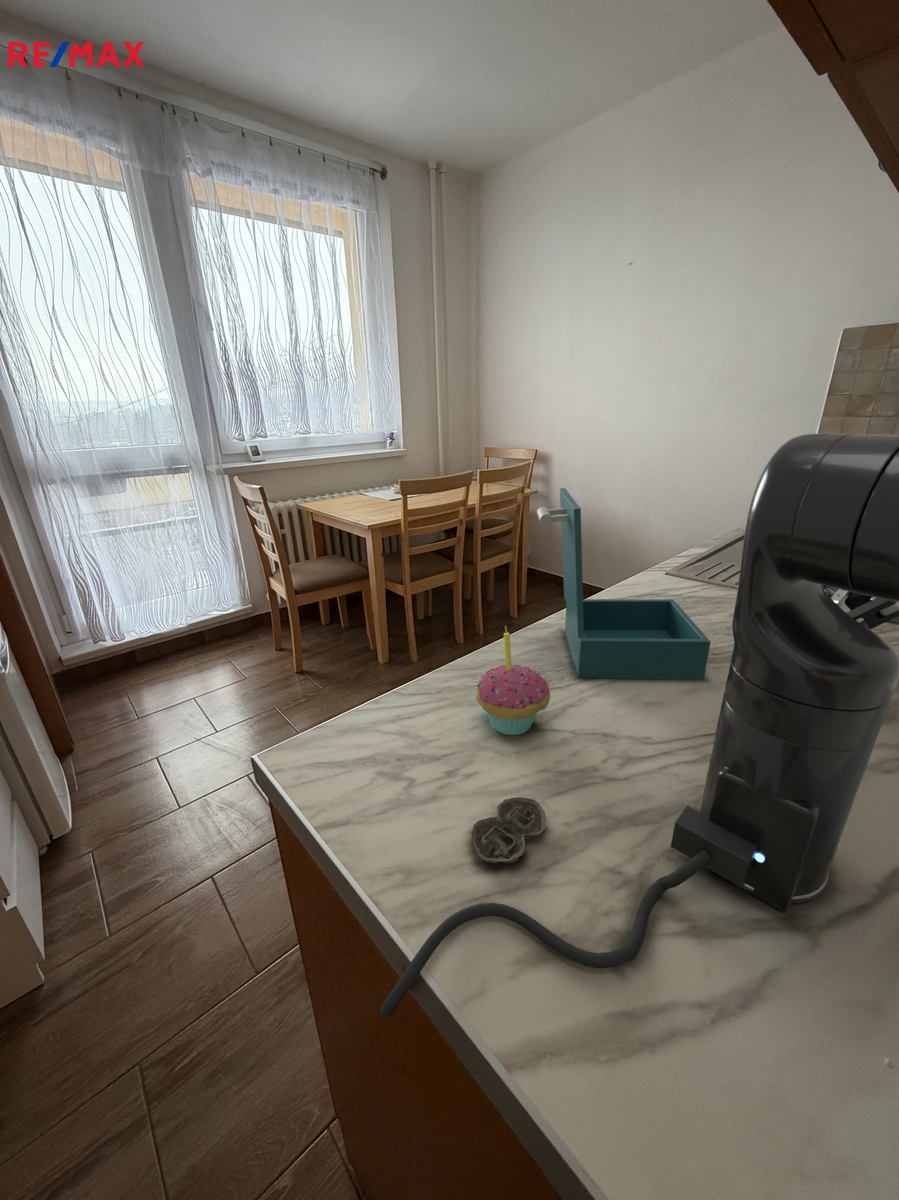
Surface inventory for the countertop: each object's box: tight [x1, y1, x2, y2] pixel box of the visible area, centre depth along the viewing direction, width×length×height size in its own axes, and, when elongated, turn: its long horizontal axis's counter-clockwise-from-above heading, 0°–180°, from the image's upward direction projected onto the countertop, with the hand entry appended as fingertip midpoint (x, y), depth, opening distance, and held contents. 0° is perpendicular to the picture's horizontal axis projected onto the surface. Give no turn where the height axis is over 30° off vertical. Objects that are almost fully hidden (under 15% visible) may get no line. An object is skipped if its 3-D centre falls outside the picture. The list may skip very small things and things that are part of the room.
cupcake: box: [475, 625, 551, 736], centre depth 56 cm, size 9×8×12 cm
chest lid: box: [536, 487, 584, 638], centre depth 68 cm, size 17×15×5 cm
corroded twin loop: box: [471, 796, 547, 864], centre depth 43 cm, size 5×8×1 cm, turn 135°
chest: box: [564, 598, 711, 681], centre depth 71 cm, size 17×15×6 cm
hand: (781, 635), depth 60 cm, fingers closed on chocolate bunny, 5 cm apart
